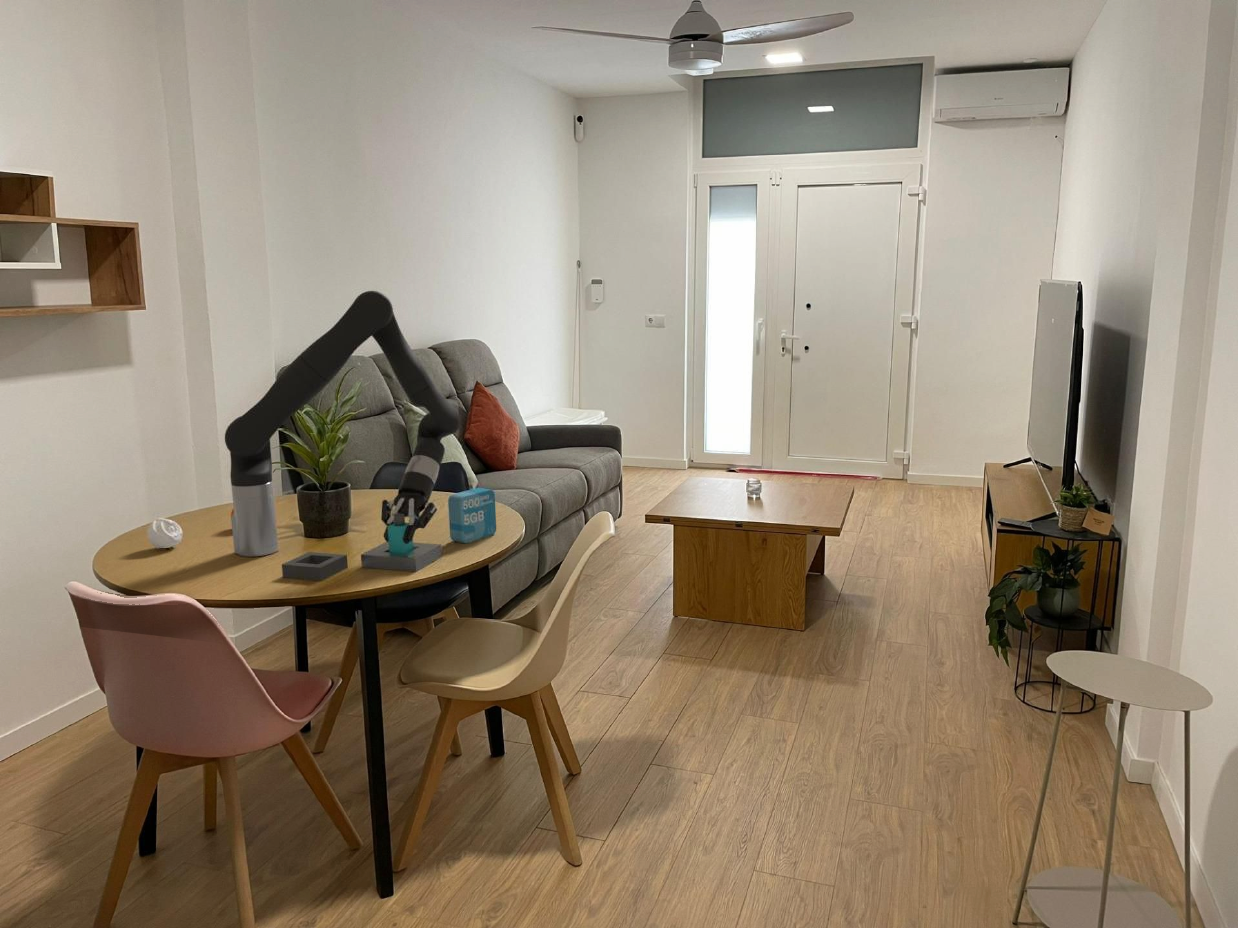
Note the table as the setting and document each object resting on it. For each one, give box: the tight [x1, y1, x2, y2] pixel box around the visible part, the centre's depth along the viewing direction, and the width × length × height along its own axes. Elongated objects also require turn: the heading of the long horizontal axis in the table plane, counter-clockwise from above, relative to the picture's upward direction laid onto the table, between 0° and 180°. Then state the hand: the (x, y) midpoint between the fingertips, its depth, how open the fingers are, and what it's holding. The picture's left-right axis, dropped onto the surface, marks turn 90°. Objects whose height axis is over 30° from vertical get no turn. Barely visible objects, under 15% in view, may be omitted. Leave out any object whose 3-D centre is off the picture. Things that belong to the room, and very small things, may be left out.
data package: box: [447, 487, 497, 544], centre depth 235 cm, size 12×4×12 cm, turn 143°
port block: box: [360, 541, 443, 573], centre depth 216 cm, size 14×12×3 cm
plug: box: [388, 513, 414, 554], centre depth 215 cm, size 4×4×10 cm
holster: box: [281, 551, 348, 582], centre depth 210 cm, size 10×10×3 cm
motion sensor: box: [146, 517, 183, 549], centre depth 231 cm, size 8×8×8 cm
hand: (396, 541), depth 214 cm, fingers open, 4 cm apart
